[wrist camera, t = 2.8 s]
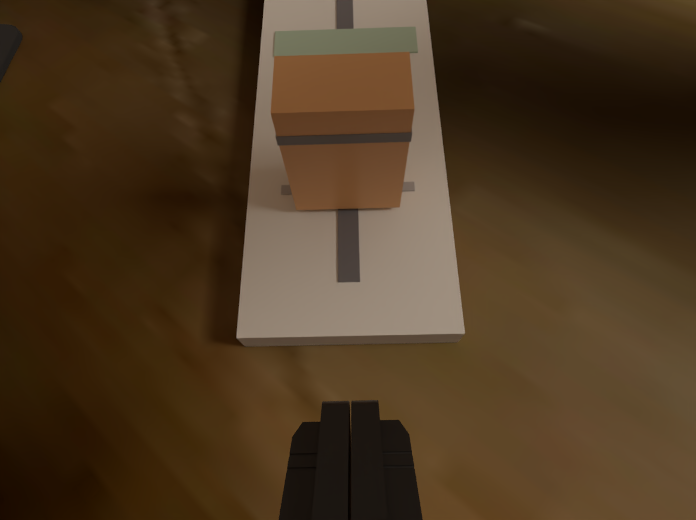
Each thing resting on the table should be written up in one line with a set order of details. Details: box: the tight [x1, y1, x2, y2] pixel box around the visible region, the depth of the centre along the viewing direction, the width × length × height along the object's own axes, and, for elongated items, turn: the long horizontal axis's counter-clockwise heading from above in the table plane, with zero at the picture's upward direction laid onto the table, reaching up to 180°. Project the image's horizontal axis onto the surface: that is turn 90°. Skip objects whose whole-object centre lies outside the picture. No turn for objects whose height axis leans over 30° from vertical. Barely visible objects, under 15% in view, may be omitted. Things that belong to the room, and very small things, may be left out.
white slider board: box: [236, 0, 465, 346], centre depth 31 cm, size 30×12×2 cm, turn 1°
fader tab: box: [271, 52, 415, 210], centre depth 23 cm, size 3×6×8 cm, turn 91°
